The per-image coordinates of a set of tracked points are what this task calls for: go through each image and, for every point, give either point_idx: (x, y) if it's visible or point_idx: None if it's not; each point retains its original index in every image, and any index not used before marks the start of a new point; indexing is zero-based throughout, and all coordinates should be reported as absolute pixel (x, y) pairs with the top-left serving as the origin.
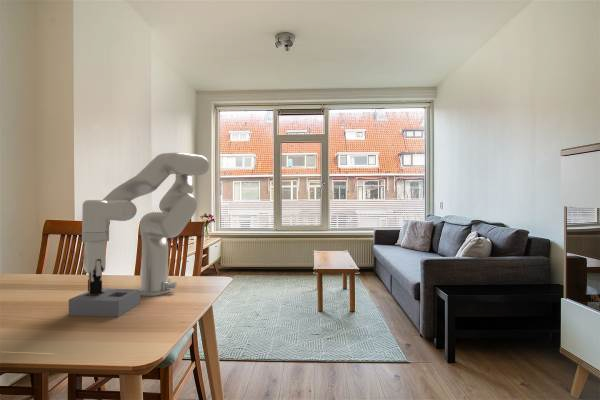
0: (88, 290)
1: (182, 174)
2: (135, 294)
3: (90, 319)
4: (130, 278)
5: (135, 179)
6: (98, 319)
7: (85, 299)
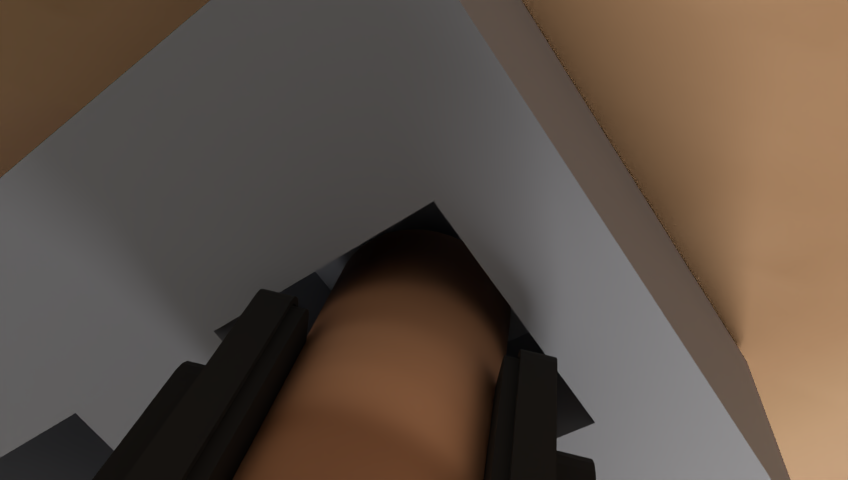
0: (529, 365)
1: None
2: None
3: (65, 40)
4: None
5: None
6: (8, 106)
7: (110, 123)
